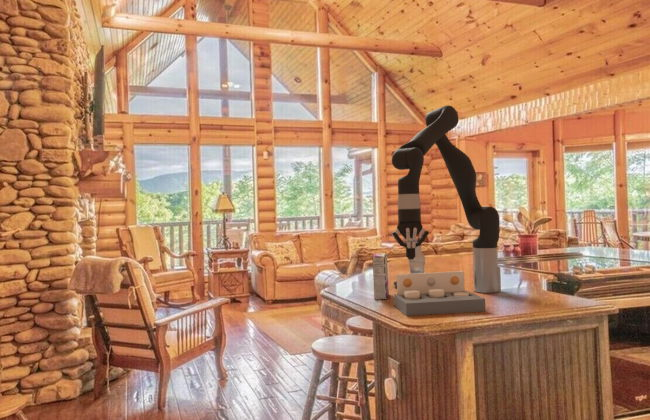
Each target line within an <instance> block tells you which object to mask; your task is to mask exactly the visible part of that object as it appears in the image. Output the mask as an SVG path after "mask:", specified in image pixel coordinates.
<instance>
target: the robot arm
mask: <svg viewBox="0 0 650 420" xmlns="http://www.w3.org/2000/svg"><path fill="white" fill-rule="evenodd" d="M424 119H425V125H426V127H424V128H423V129H422V130H420V131H418V132H417V134H415V135H414V136H413V137H412V138H411V140H410V141H408V142H406V143H404V144H403V145H401V146H399V147H398V148H396V150H395V151H394V152H393V154H392V156H391V164H392V166H393V167H394V168H395V169H396V170H400V171H402V170H408V172H407V174H406V175H404V176H401V177H399V178H398V181H397V189H398V190H397V191H398V192H397V196H398V197H397V219H398V220H397V226H396V229H395V230H394V231H391V232H390V235H391V236H392V238H394V240H395V241H396V243H398V245H399V246H400V247H403V248H405V257H406V258H407V260H408V259H409V260H411V259H414V258H415V248H416V247H417V246H420V245H421V246H422V243H424V241H425V240H426V238H427V237H428V236H429V233H430V231H429V230H426V229H425V228H423V224H422V213H421V212H422V210H421V208H422V207H421V206H422V205H421V204H422V203H421V198H420V197H421V196H420V178H421V174H422V170H423V167H424V160H425V158H424V157H425V155H426V154H427V153H428V152H429V151H430V150H431V149H432V147H434V145H436V147H437V149H438V151H439V152H440V155H441V157H442V159H443V161H444V164H445V166H446V168H447V171H448V173H449V176H450V178H451V181H452V183H453V185H454V187H455V189H456V191H457V193H458V194H457V195H458V196H459V198H460V201H461V204H462V209H463V212H464V213H465V216H466V217H465V218H466V221H467V223H468V224H469V226H470V227H471V228H472V229H474V230H478V231H479V235H478V236H477V238H475V239H473V240H472V261H473V262H472V263H473V291H474V292H477V293H483V294H484V293H485V294H489V293H498V292H502V283H501V282H502V281H501V279H502V278H501V267H500V266H499V263H498V262H499V257H498V253H499V252H498V242H499V239H500V216H499V215H500V214H499V213H498V210H497V209H496V208H495V207H493V206H482V205H481V203H480V201H479V199H478V196H477V192H476V186H477V173H476V169H475V168H474V165H473V163H472V160H471V159H470V157H469V156H468V155H467V154H466V153H465V152H464V151H462V150H461V149H460V148H458V147H457V146H455V145H454V144H453V143H452V142H451V141H450V140H449V138H448V136H447V133H449V132H450V131H451V130H453V129H455V128H457V125H458V123H459V114H458V111H457V109H455V107H453V106H452V105H444V106H441V107H439V108H436V109H433V110H430V111H429V112H427V113H426V115H425V118H424ZM419 234H420V235H419ZM400 235H401V236H402V237H403V239H402V238H401V237H400ZM418 236H419V237H418ZM417 237H418V238H417ZM403 240H404V241H403Z"/></svg>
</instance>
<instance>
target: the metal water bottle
mask: <svg viewBox="0 0 650 420" xmlns="http://www.w3.org/2000/svg"><path fill="white" fill-rule="evenodd" d="M407 261H408V267H409V274H416V273H425V268H426V267H425V265H426V257H425V254H424V253H423V251H422V244H421V245H420V246H417V247H416V248H415V258H414V259H411V260H409V259H408V258H407Z"/></svg>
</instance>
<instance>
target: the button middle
mask: <svg viewBox="0 0 650 420" xmlns="http://www.w3.org/2000/svg"><path fill="white" fill-rule="evenodd" d="M429 297H430V298H442V297H444V290H443V289H430V290H429Z"/></svg>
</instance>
